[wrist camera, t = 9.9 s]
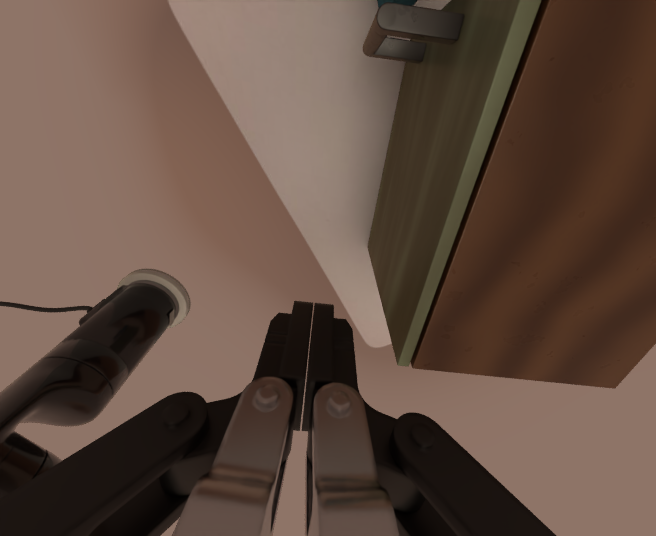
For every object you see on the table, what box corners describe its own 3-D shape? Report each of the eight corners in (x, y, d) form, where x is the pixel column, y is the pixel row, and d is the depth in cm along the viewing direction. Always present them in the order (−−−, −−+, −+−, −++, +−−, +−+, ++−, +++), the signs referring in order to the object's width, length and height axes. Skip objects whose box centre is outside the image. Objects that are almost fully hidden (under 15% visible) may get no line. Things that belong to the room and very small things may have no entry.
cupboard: (374, 248, 45) (412, 368, 24) (420, 41, 33) (585, -98, 11) (483, 260, 46) (615, 388, 25) (569, 63, 33) (990, -27, 12)
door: (331, 243, 45) (330, 359, 24) (361, 32, 32) (413, -125, 11) (373, 248, 45) (408, 366, 24) (418, 41, 32) (577, -96, 11)
